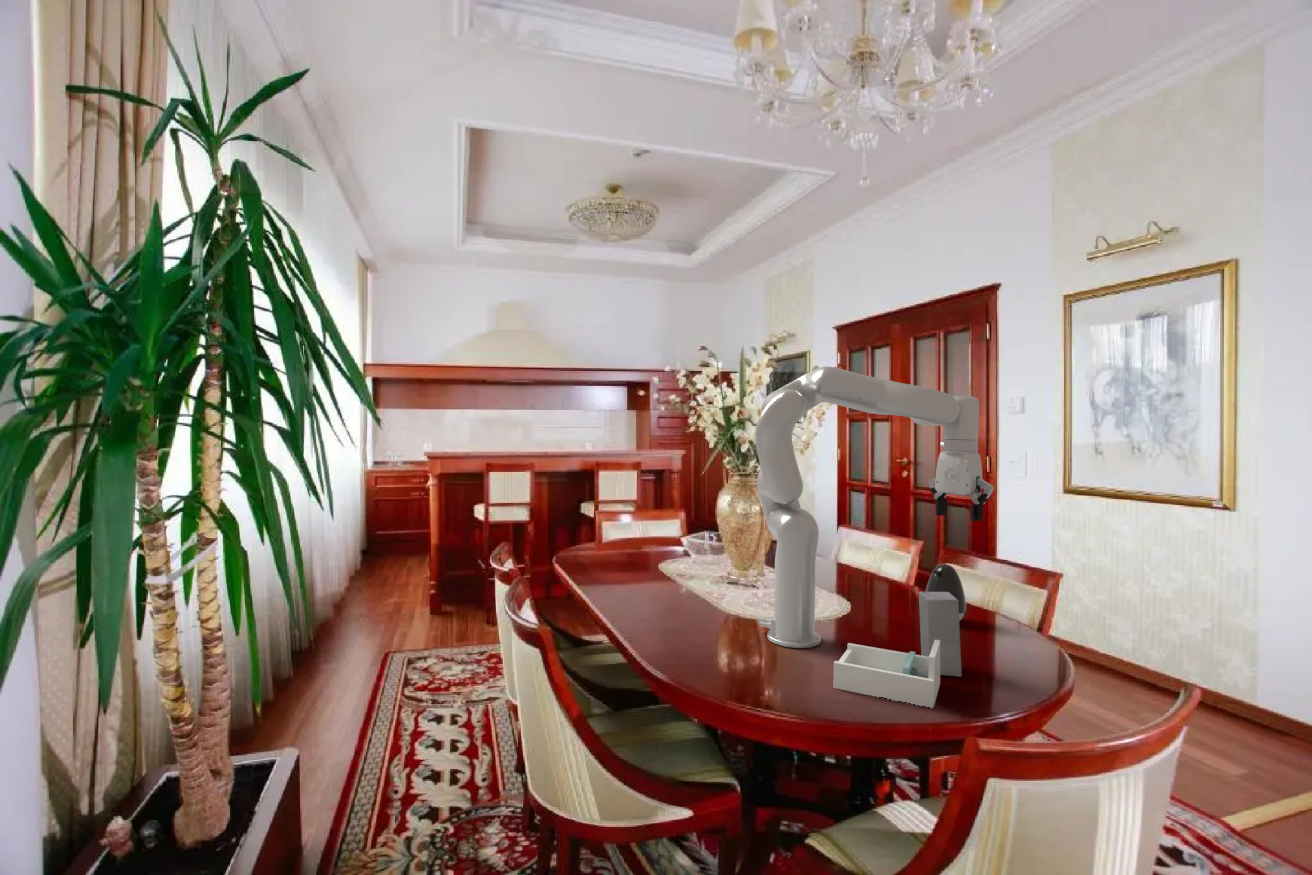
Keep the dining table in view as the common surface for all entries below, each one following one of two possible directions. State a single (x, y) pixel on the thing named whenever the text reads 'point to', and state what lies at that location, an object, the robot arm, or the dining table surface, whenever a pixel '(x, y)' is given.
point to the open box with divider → (888, 674)
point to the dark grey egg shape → (948, 585)
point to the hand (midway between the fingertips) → (958, 517)
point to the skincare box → (941, 629)
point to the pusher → (913, 667)
